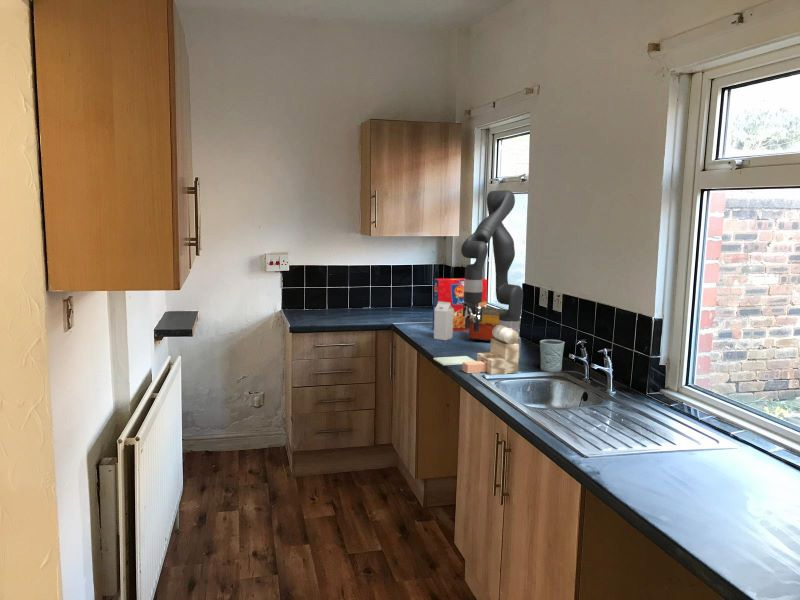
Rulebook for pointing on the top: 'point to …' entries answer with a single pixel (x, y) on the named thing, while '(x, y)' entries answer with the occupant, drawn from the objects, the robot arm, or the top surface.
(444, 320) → the milk carton
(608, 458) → the top surface
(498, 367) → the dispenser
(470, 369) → the peach rectangular slab
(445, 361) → the mat
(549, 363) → the grey green plant pot
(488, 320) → the decorative box
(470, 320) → the robot arm
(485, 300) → the pasta box
